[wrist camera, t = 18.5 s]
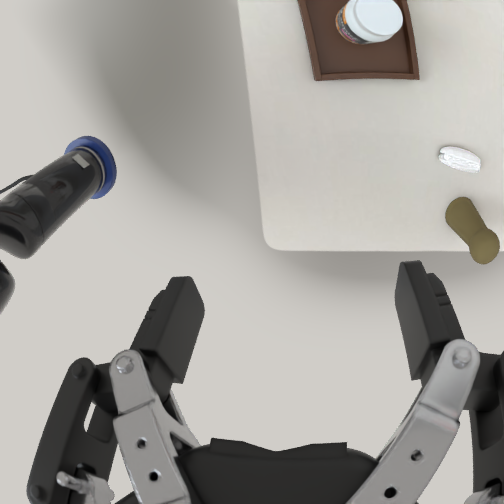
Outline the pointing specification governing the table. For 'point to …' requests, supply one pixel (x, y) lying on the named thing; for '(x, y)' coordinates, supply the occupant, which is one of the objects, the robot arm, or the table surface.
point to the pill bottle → (369, 20)
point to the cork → (472, 230)
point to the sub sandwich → (460, 159)
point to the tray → (356, 46)
